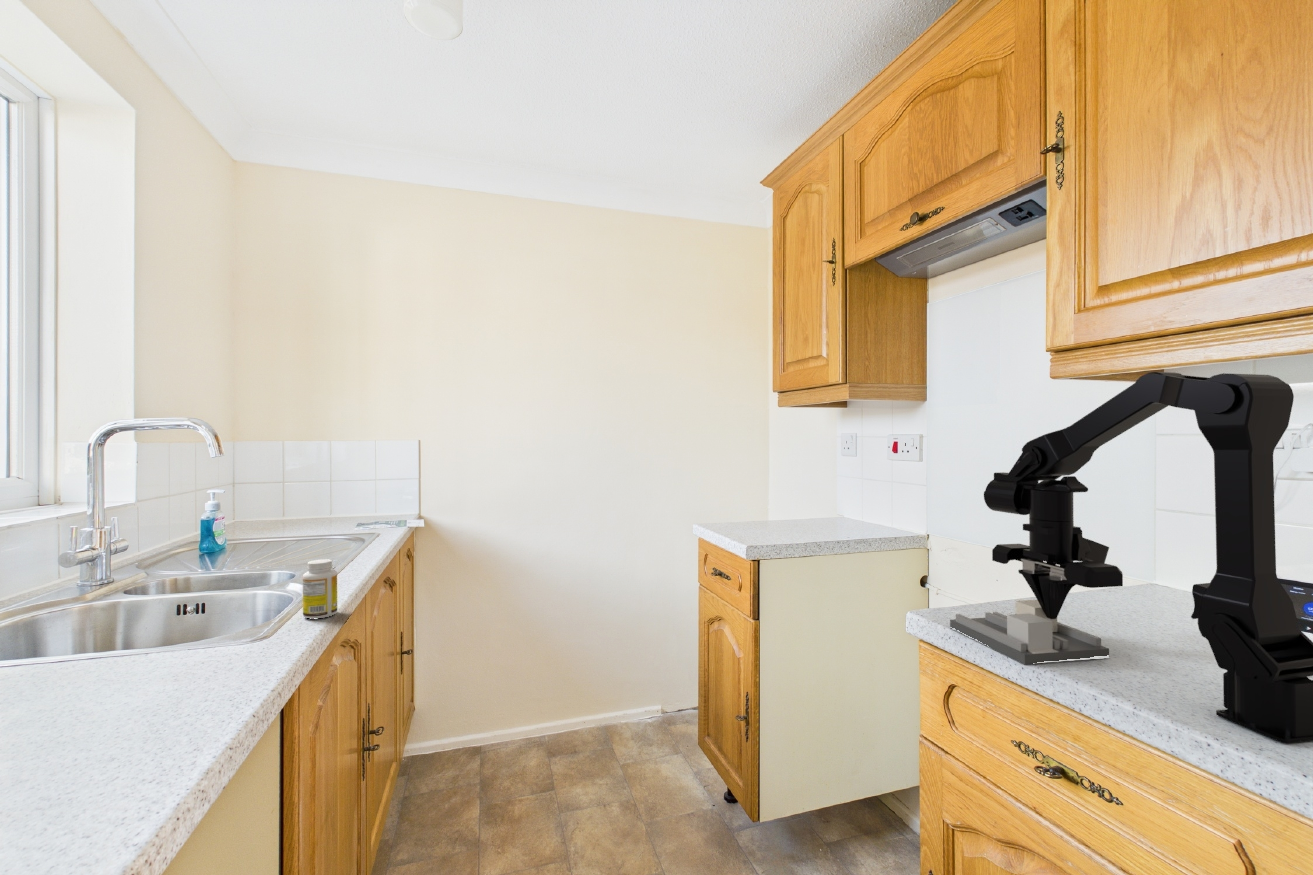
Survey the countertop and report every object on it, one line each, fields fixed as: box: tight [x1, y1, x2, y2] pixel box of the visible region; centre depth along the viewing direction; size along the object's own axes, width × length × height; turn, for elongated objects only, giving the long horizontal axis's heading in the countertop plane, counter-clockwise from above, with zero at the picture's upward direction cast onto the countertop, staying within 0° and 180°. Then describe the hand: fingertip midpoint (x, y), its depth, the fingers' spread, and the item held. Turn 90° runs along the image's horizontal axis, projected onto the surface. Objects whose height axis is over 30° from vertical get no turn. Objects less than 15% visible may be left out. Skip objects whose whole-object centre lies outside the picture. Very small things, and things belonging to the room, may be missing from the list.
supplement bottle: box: [302, 558, 338, 619], centre depth 106 cm, size 6×6×10 cm
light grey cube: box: [1006, 613, 1053, 651], centre depth 84 cm, size 4×4×4 cm
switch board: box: [949, 611, 1110, 666], centre depth 90 cm, size 16×14×3 cm
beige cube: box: [1014, 599, 1058, 632], centre depth 92 cm, size 4×4×4 cm
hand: (1051, 618), depth 89 cm, fingers closed
